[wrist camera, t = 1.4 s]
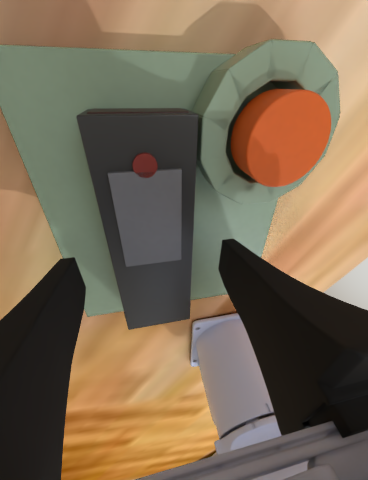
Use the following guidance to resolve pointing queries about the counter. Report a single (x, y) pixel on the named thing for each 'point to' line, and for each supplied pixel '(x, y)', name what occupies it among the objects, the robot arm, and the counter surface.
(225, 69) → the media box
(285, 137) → the power button
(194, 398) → the counter surface
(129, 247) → the remote
